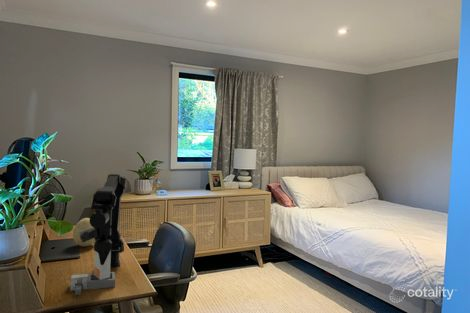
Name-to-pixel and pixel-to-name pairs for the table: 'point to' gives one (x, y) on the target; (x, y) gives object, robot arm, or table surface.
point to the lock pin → (78, 287)
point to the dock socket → (100, 281)
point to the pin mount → (79, 277)
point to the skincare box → (102, 267)
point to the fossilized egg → (81, 227)
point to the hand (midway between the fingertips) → (102, 260)
